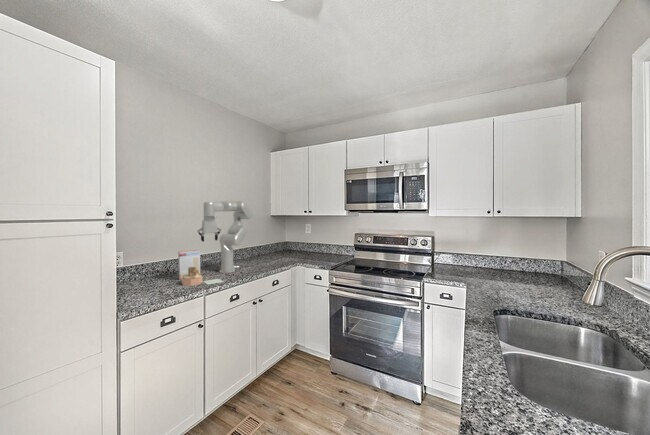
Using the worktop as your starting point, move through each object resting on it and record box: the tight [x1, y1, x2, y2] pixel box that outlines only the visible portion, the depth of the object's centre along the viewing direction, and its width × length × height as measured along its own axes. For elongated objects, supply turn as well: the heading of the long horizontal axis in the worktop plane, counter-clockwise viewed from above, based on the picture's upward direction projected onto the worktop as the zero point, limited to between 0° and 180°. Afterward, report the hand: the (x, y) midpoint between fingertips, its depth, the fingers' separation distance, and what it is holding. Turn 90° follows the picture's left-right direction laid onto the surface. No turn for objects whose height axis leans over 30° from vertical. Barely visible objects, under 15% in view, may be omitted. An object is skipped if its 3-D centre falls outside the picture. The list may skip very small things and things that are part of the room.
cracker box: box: [177, 249, 201, 281], centre depth 201 cm, size 14×6×21 cm, turn 129°
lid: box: [183, 267, 203, 279], centre depth 186 cm, size 12×12×6 cm
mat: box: [202, 278, 225, 285], centre depth 190 cm, size 11×11×1 cm
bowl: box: [181, 275, 203, 287], centre depth 186 cm, size 12×12×5 cm
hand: (209, 240), depth 202 cm, fingers open, 9 cm apart
